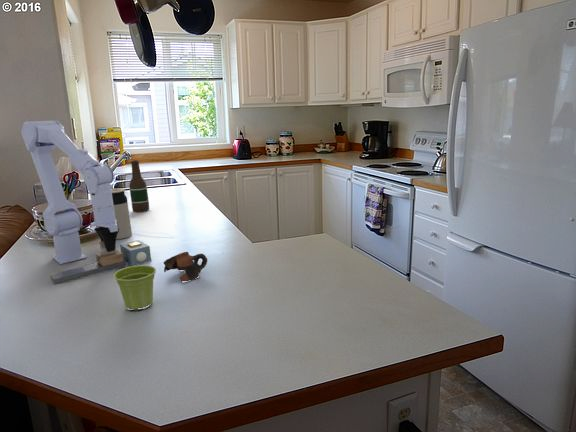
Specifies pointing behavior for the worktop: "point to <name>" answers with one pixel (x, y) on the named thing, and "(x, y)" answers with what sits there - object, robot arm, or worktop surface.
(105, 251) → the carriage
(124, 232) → the travel mug
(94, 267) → the rail
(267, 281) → the worktop surface
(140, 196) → the beer bottle
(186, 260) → the pottery mug
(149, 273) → the plant pot
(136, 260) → the blue grey control box
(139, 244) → the button
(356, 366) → the worktop surface
